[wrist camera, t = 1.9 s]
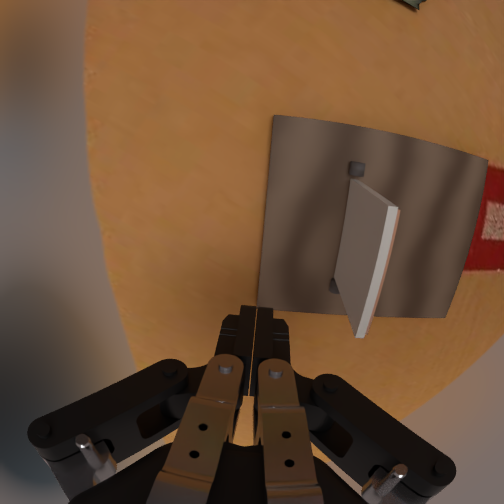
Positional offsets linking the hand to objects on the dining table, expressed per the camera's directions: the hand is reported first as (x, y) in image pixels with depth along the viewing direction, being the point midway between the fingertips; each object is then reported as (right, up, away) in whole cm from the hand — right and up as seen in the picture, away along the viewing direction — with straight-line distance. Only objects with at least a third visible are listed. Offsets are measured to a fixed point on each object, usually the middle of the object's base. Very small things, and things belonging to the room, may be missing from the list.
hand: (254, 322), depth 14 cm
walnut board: (+13, +6, +16) cm, 22 cm away
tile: (+8, +3, +10) cm, 13 cm away
